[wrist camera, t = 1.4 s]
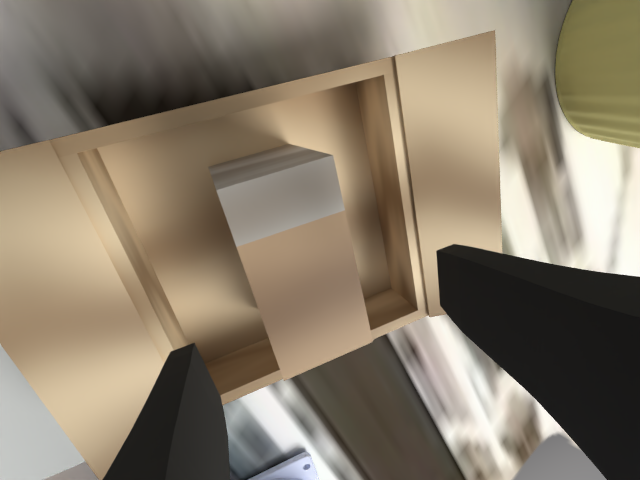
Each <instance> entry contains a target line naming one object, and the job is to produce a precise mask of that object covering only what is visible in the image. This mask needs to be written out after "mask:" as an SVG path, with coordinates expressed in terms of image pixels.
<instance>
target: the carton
mask: <svg viewBox="0 0 640 480" xmlns="http://www.w3.org/2000/svg"><path fill="white" fill-rule="evenodd" d="M287 144H292V145H296V146H300V147H304V148H308V149H311V150H315V151H319V152H323V153H327V154H331V155H333V157H334V162H335V166H336V171H337V176H338V180H339V185H340V190H341V194H342V199H343V204H344V208H345V213H346V218H347V222H348V227H349V232H350V236H351V241H352V246H353V250H354V255H355V260H356V264H357V269H358V274H359V279H360V283H361V288H362V293H363V297H364V302H365V307H366V311H367V316H368V321H369V325H370V330H371V335H372V339H375V338H377V337H380V336H382V335H384V334H387V333H389V332H391V331H393V330H396V329H398V328H400V327H403V326H405V325H407V324H409V323H412V322H414V321H416V320H419V319H421V318H423V317H425V316H428V315H429V317H433V316H439V315H445V314H447V313H446V312H445V311H444V310H443V308H442V307H441V306H440V298H439V284H438V269H437V255H436V251H437V250H439V249H442V248H444V247H447V246H450V245H452V244H458V245H464V246H470V247H475V248H480V249H484V250H489V251H493V252H498V253H502V230H501V199H500V168H499V137H498V106H497V75H496V44H495V30H494V31H490V32H486V33H482V34H478V35H475V36H471V37H467V38H463V39H459V40H455V41H451V42H447V43H443V44H439V45H435V46H431V47H427V48H423V49H420V50H416V51H412V52H408V53H404V54H400V55H396V56H392V57H388V58H384V59H380V60H376V61H372V62H368V63H364V64H360V65H356V66H351V67H347V68H343V69H339V70H335V71H331V72H327V73H323V74H319V75H314V76H310V77H306V78H302V79H298V80H294V81H290V82H286V83H282V84H277V85H273V86H269V87H265V88H261V89H257V90H253V91H249V92H245V93H240V94H236V95H232V96H228V97H224V98H220V99H216V100H212V101H208V102H203V103H199V104H195V105H191V106H187V107H183V108H179V109H175V110H171V111H167V112H162V113H158V114H154V115H150V116H146V117H142V118H138V119H134V120H130V121H125V122H121V123H117V124H113V125H109V126H105V127H101V128H97V129H93V130H88V131H84V132H80V133H76V134H72V135H68V136H64V137H60V138H56V139H51V140H47V141H42V142H38V143H34V144H29V145H25V146H21V147H17V148H12V149H8V150H4V151H0V344H1V346H2V347H3V349H4V350H5V351H6V353H7V354H8V355H9V357H10V358H11V359H12V361H13V362H14V364H15V365H16V366H17V368H18V369H19V370H20V372H21V373H22V375H23V376H24V377H25V379H26V380H27V381H28V383H29V384H30V386H31V387H32V388H33V390H34V391H35V392H36V394H37V395H38V397H39V398H40V399H41V401H42V402H43V403H44V405H45V406H46V408H47V409H48V410H49V412H50V413H51V414H52V416H53V417H54V419H55V420H56V421H57V423H58V424H59V425H60V427H61V428H62V430H63V431H64V432H65V434H66V435H67V436H68V438H69V439H70V441H71V442H72V443H73V445H74V446H75V447H76V449H77V450H78V452H79V453H80V454H81V456H82V457H83V458H84V460H85V461H86V463H87V464H88V465H89V467H90V468H91V469H92V471H93V472H94V474H95V475H96V476H97V478H98V479H99V480H103V478H104V476H105V475H106V473H107V471H108V470H109V468H110V466H111V464H112V463H113V461H114V459H115V457H116V456H117V454H118V452H119V450H120V449H121V447H122V445H123V443H124V442H125V440H126V438H127V437H128V435H129V433H130V431H131V429H132V427H133V425H134V423H135V422H136V420H137V418H138V416H139V414H140V412H141V410H142V408H143V406H144V404H145V402H146V400H147V398H148V396H149V394H150V392H151V390H152V388H153V386H154V384H155V382H156V380H157V378H158V376H159V374H160V371H161V369H162V367H163V365H164V363H165V361H166V359H167V357H168V355H169V354H170V352H171V351H174V350H176V349H179V348H181V347H184V346H187V345H189V344H192V343H195V345H196V347H197V349H198V351H199V353H200V355H201V357H202V359H203V361H204V363H205V365H206V367H207V369H208V372H209V374H210V376H211V378H212V380H213V382H214V384H215V386H216V388H217V390H218V392H219V394H220V396H221V401H222V405H224V404H226V403H229V402H231V401H233V400H236V399H238V398H240V397H242V396H245V395H247V394H249V393H252V392H254V391H256V390H258V389H261V388H263V387H265V386H268V385H270V384H272V383H274V382H277V381H279V380H281V379H283V377H282V374H281V371H280V368H279V365H278V363H277V360H276V357H275V354H274V351H273V348H272V346H271V343H270V340H269V337H268V334H267V332H266V329H265V326H264V323H263V320H262V317H261V315H260V312H259V309H258V306H257V303H256V301H255V298H254V295H253V292H252V289H251V286H250V284H249V281H248V278H247V275H246V272H245V270H244V267H243V264H242V261H241V258H240V256H239V253H238V250H237V247H236V244H235V241H234V239H233V236H232V233H231V230H230V227H229V225H228V222H227V219H226V216H225V213H224V210H223V208H222V205H221V202H220V199H219V196H218V194H217V191H216V188H215V185H214V182H213V179H212V177H211V174H210V171H209V168H208V167H209V166H213V165H216V164H220V163H223V162H227V161H230V160H234V159H238V158H241V157H245V156H248V155H252V154H255V153H259V152H262V151H266V150H269V149H273V148H276V147H280V146H283V145H287Z"/></svg>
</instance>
